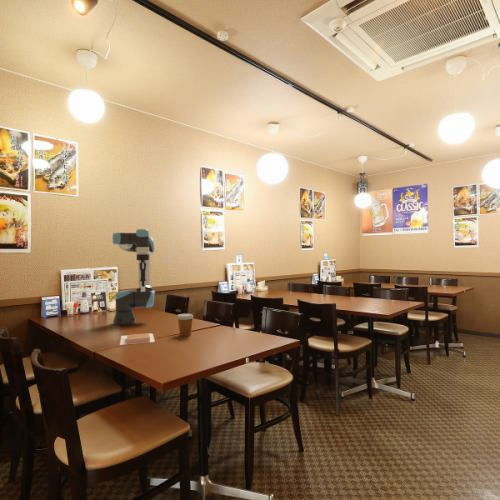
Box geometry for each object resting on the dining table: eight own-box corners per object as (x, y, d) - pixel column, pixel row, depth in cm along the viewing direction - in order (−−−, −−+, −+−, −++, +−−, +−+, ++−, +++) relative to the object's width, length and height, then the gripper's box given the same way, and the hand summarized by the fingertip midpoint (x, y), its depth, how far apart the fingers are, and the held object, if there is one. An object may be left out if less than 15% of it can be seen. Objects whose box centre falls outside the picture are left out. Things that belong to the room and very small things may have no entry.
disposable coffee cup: (190, 336, 205) (189, 316, 205) (174, 336, 207) (174, 316, 207) (195, 333, 214) (195, 313, 214) (181, 332, 216) (180, 313, 216)
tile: (127, 334, 200) (126, 339, 189) (149, 333, 204) (149, 337, 192) (127, 338, 200) (126, 343, 188) (149, 336, 204) (150, 341, 192)
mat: (121, 336, 207) (121, 335, 207) (152, 334, 212) (152, 333, 212) (119, 346, 186) (119, 344, 186) (154, 342, 191) (154, 341, 191)
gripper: (136, 253, 224) (136, 290, 225) (136, 254, 212) (136, 293, 212) (148, 253, 226) (149, 289, 227) (149, 254, 214) (149, 292, 214)
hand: (143, 291), depth 219 cm, fingers closed
